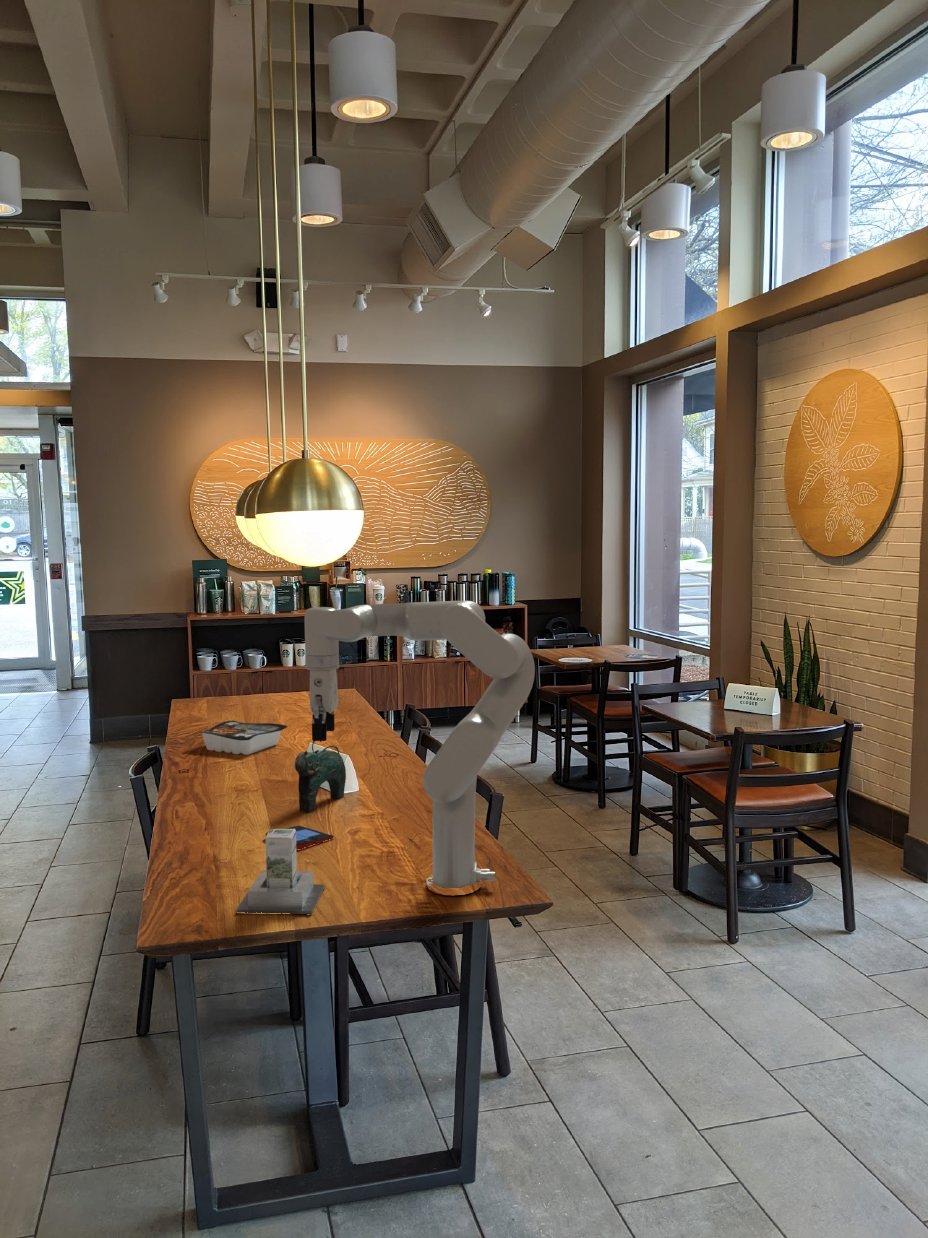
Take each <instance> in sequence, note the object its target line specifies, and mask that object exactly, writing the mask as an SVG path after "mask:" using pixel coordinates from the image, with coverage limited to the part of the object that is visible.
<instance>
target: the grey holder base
mask: <svg viewBox="0 0 928 1238" xmlns="http://www.w3.org/2000/svg"><path fill="white" fill-rule="evenodd" d="M252 883H253V884H252V885H251V886H250V887H249V889H248V890H247V893H246V895H244V898H243V899H242V900H241V901H240V903H239V905H238V906H237V908H236V909H235V913H236V912H245V913H247V912H248V913H256V912H257V913H261V912H262V913H281V914H282V913H290V914H312V912H313V910H314V908H315V909H316V907H315V905H316V904H317V905H318V903H319V901H320V899H319V897H320V896H321V897H322V895H323V893H322V891H323V889H324V890H325V884H317V883H316V884H314V871H307V870H306V871H305V870H304V871H303V870H300V871H299V870H297V885H296V887H295V888H267V874H266V870H261V871H260V873H259V874H258V875H257V877H256V878H255V880H254V882H252ZM323 892H324V891H323ZM321 894H322V895H321ZM321 897H320V898H321ZM318 900H319V901H318ZM317 902H318V903H317ZM317 905H316V906H317ZM314 911H315V910H314ZM313 913H314V912H313ZM312 915H313V914H312Z"/></svg>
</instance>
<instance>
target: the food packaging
mask: <svg viewBox="0 0 928 1238" xmlns="http://www.w3.org/2000/svg"><path fill="white" fill-rule="evenodd" d="M288 727H289V725H288V726H287V725H285V724H282V723H271V722H270V723H268V722H267V723H266V722H265V723H264V722H263V723H262V722H258V723H254V722H241V721H237V720H227V721H223V722H220V723H218V724H216V725H214V726H213V727H211V728H209V729H207V730H204V731H199V732H197V733H199V734H202V739H203V742H204V745H205V747H206V749H207V750H208V751H215V752H217V753H221V752H224V753H227V754H228V753H232V754H234V755H239V754H242V755H243V754H244V755H243V756H249V755H251V754H254V753H257V752H260V751H263V750H266V749H269V748H271V747H274V746H276V745H278V743H279V740H280V738H281V733H282V731H283V730H286V729H287V728H288Z"/></svg>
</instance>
